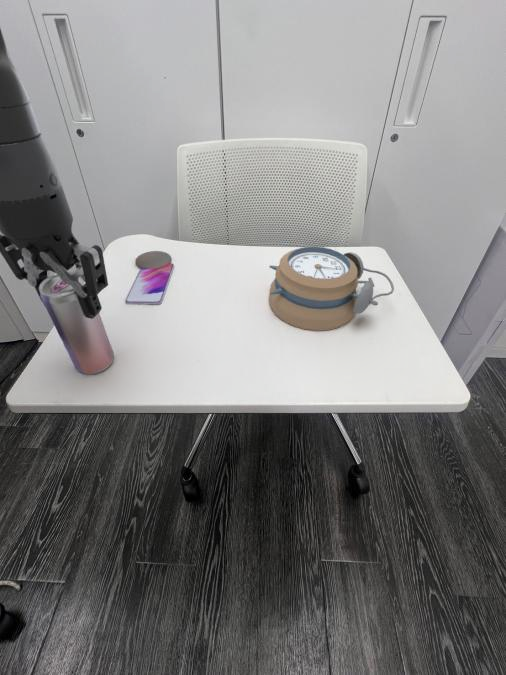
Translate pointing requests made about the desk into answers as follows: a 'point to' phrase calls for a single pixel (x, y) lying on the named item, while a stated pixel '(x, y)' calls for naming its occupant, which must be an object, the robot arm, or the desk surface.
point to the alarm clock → (320, 288)
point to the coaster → (153, 260)
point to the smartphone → (150, 286)
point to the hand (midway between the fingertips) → (73, 309)
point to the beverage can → (76, 326)
